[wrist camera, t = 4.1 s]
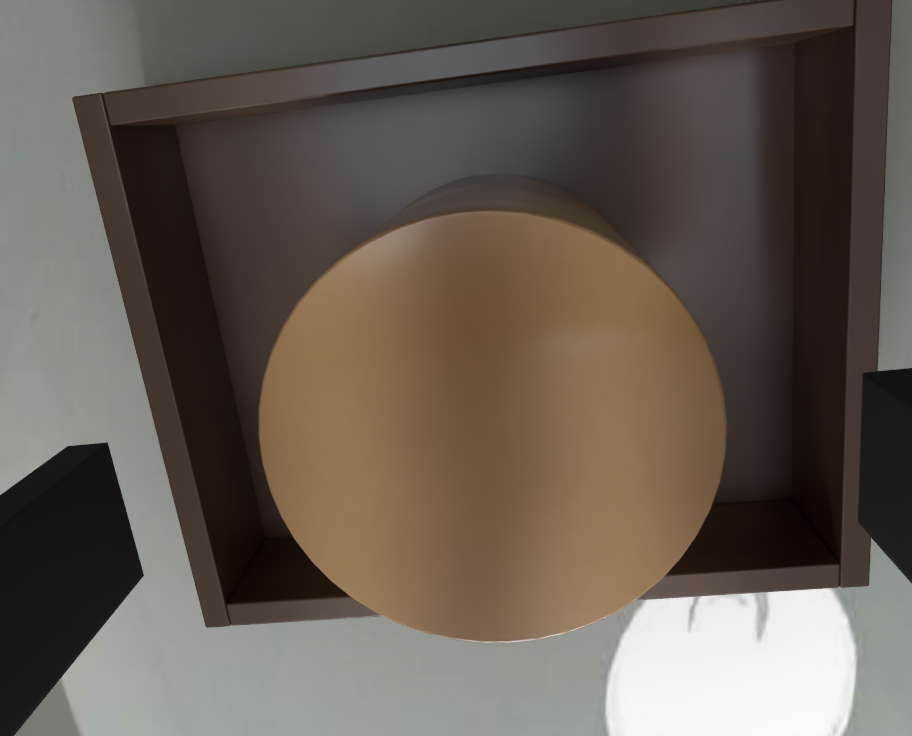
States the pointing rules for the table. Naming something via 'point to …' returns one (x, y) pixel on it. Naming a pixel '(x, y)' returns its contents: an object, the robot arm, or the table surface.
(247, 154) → the dark wooden tray
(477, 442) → the tan round tin
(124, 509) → the robot arm
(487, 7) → the table surface
